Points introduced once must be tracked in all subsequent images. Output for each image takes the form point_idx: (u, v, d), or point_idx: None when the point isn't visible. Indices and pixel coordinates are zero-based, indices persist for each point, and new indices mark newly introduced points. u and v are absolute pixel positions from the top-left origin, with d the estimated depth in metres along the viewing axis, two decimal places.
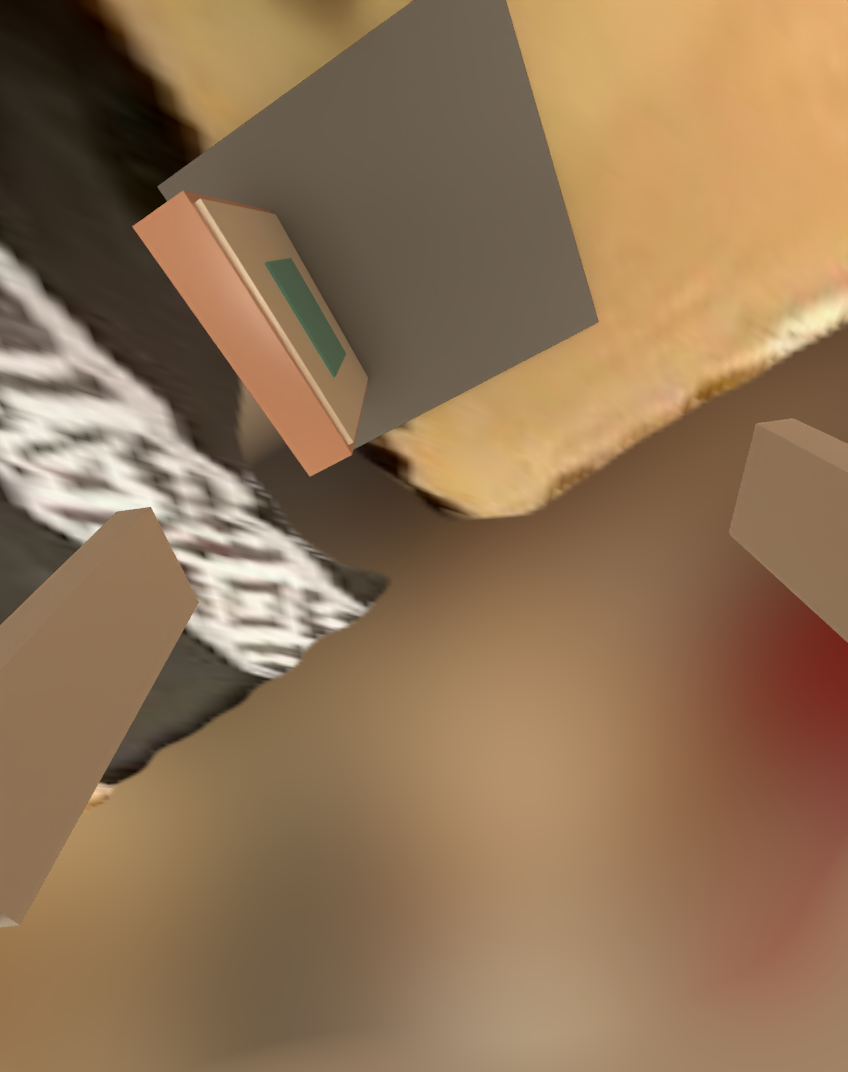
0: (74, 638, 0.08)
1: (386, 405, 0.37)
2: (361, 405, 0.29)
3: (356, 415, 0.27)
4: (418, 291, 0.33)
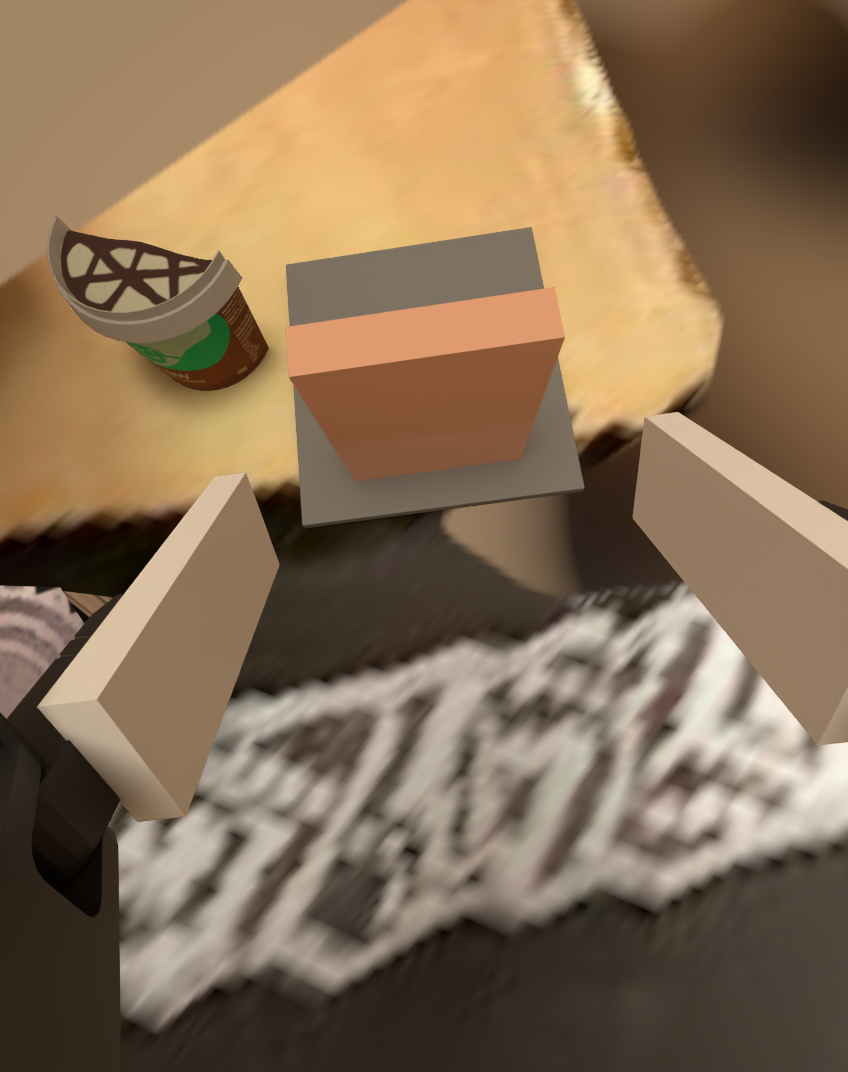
0: (205, 579, 0.09)
1: (543, 417, 0.35)
2: None
3: None
4: None
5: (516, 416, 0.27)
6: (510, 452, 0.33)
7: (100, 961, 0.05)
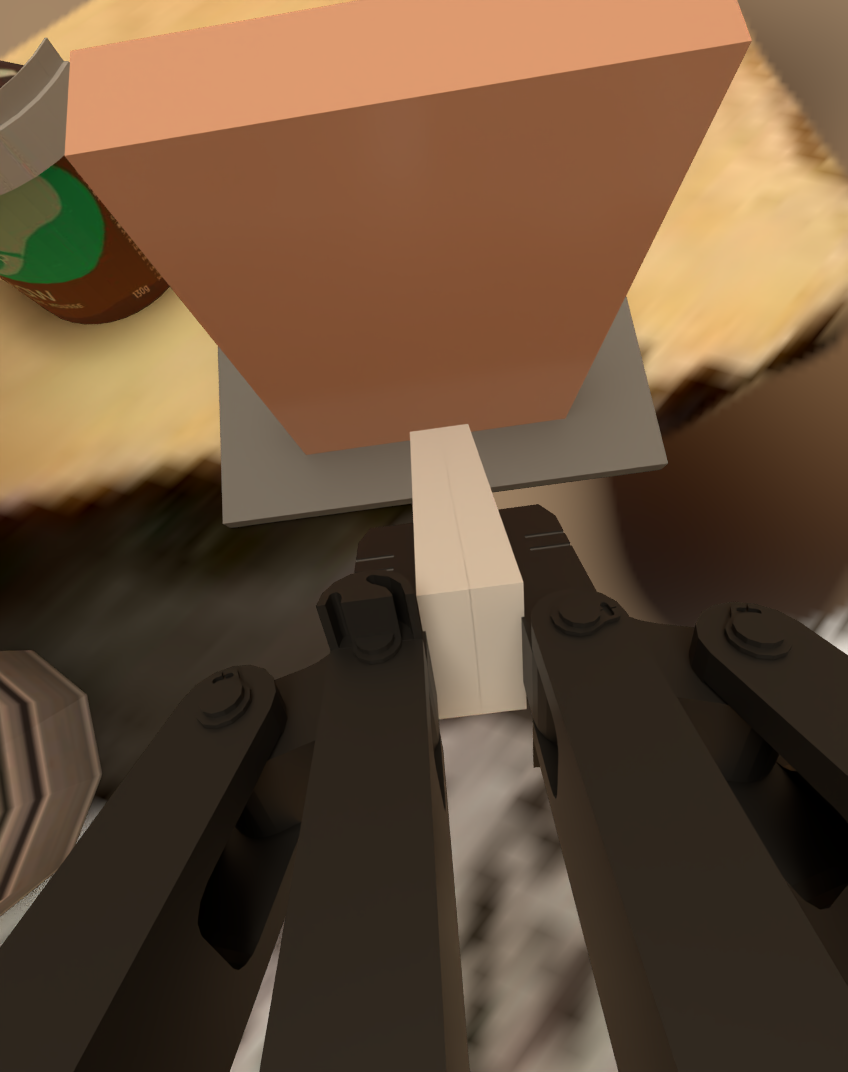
0: None
1: (599, 355, 0.22)
2: None
3: None
4: None
5: (577, 322, 0.15)
6: (551, 405, 0.20)
7: (449, 854, 0.06)
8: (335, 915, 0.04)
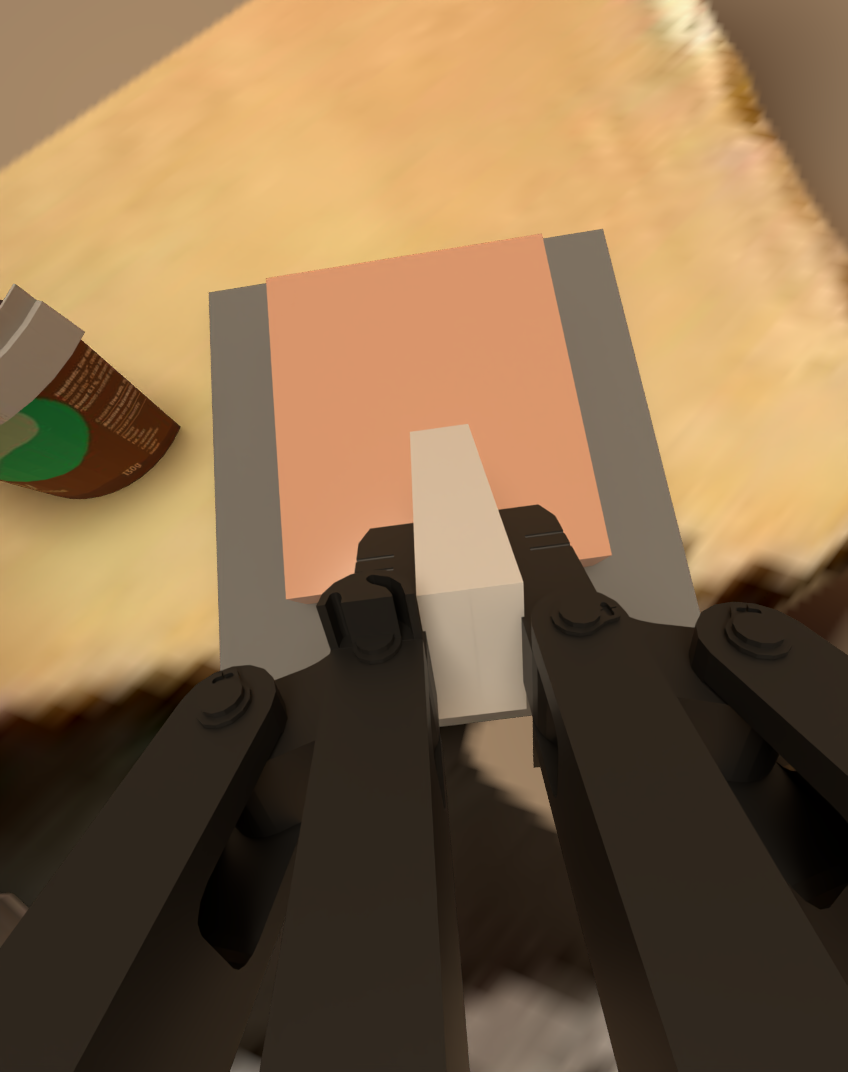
0: None
1: (639, 557, 0.20)
2: None
3: None
4: None
5: (544, 386, 0.19)
6: (577, 517, 0.18)
7: (449, 855, 0.06)
8: (335, 915, 0.04)
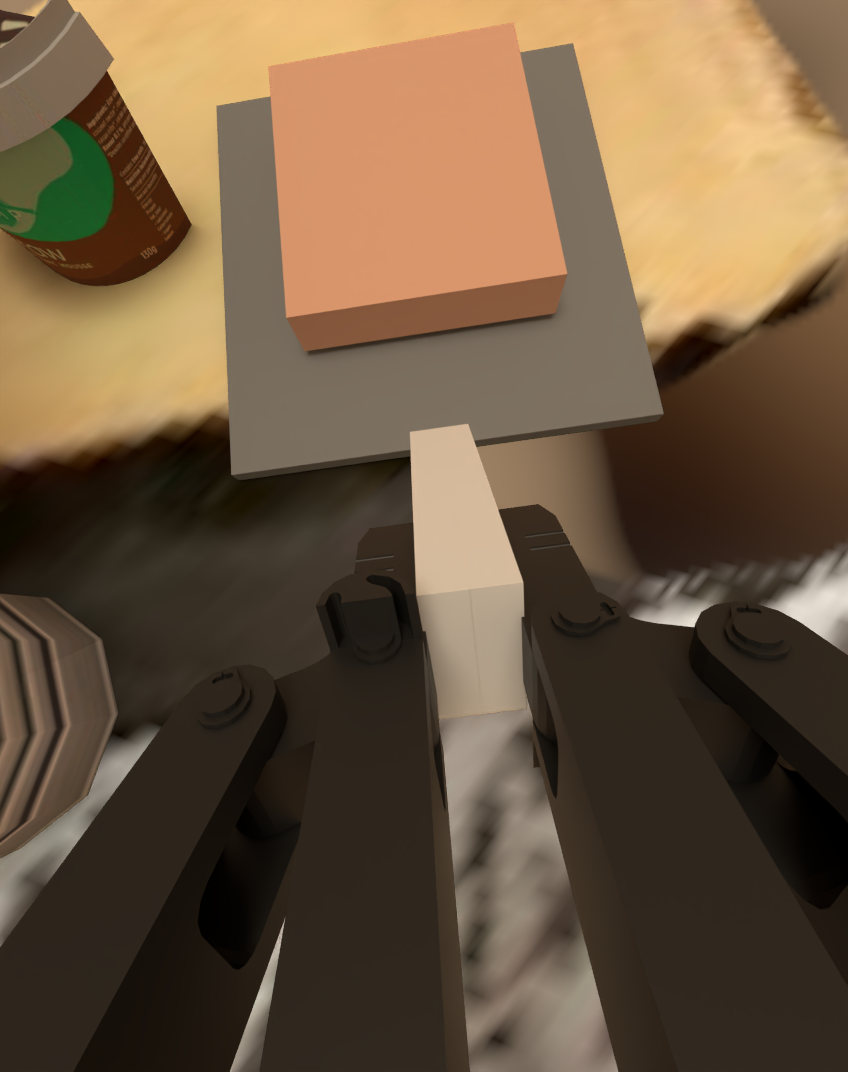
0: None
1: (597, 310, 0.23)
2: None
3: None
4: None
5: (512, 144, 0.21)
6: (538, 246, 0.20)
7: (449, 855, 0.06)
8: (335, 915, 0.04)
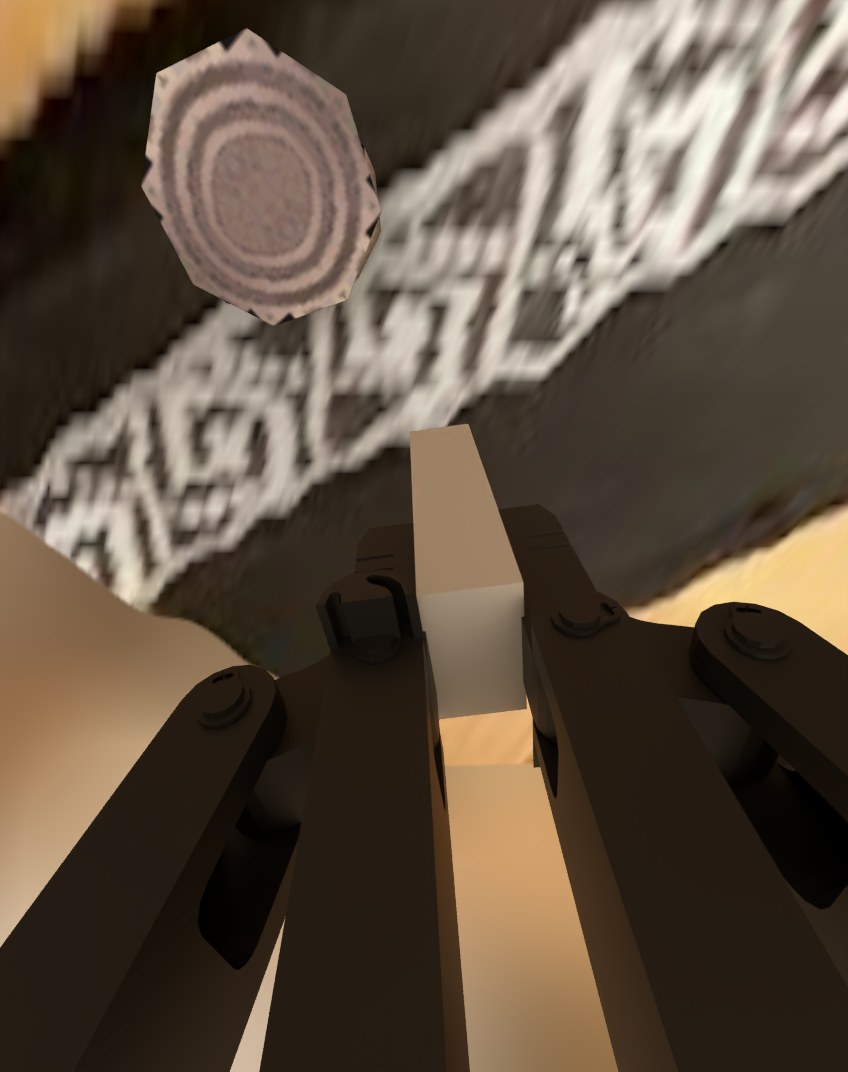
0: None
1: None
2: None
3: None
4: None
5: None
6: None
7: (449, 855, 0.06)
8: (335, 915, 0.04)
